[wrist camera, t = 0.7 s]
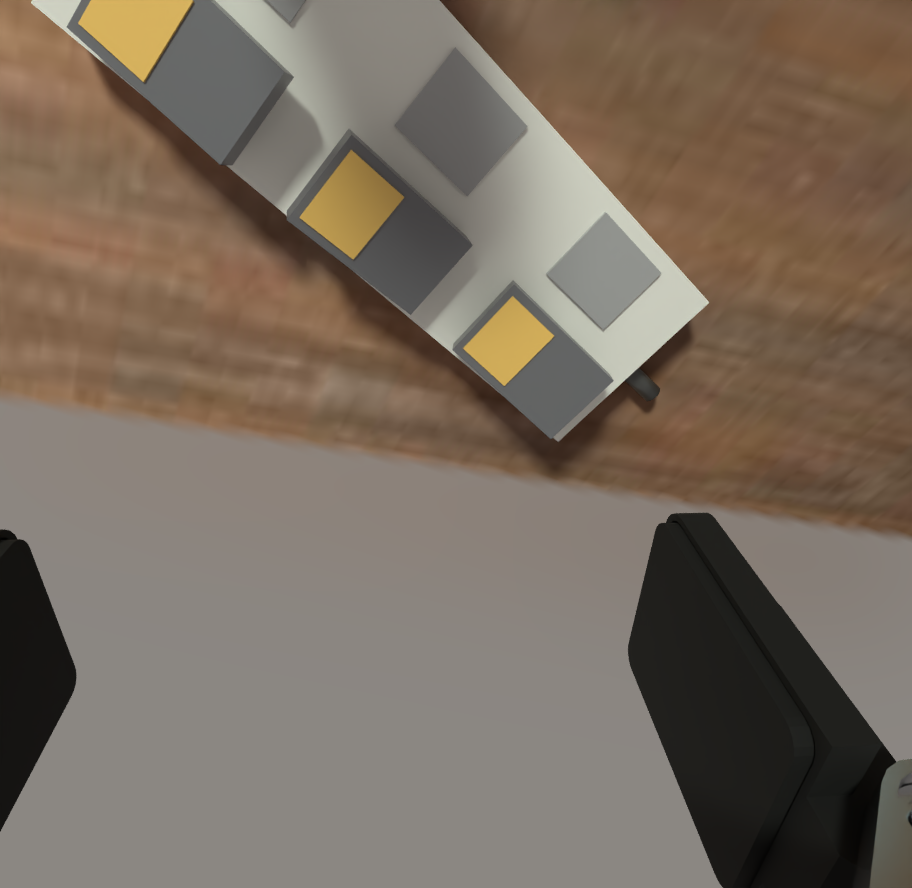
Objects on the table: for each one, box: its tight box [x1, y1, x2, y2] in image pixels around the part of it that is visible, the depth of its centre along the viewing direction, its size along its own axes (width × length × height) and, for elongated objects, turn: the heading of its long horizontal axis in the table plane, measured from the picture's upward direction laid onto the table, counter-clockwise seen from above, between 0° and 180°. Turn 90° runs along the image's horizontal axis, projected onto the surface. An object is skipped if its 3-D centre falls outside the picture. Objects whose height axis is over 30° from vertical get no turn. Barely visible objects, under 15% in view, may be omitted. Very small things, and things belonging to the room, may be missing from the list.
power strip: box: [31, 0, 709, 441], centre depth 28 cm, size 31×10×3 cm, turn 48°
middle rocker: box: [287, 129, 473, 315], centre depth 26 cm, size 6×4×1 cm, turn 48°
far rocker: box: [452, 280, 614, 439], centre depth 29 cm, size 6×4×1 cm, turn 47°
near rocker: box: [67, 0, 294, 165], centre depth 22 cm, size 6×4×1 cm, turn 47°
